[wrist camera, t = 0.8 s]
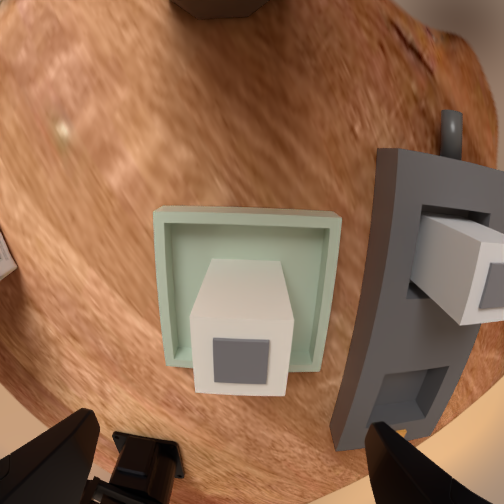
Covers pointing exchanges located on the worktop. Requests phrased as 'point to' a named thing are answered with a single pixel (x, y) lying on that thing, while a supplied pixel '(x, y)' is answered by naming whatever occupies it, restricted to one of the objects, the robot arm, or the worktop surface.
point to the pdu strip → (410, 294)
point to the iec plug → (242, 329)
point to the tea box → (5, 260)
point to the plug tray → (247, 248)
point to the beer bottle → (220, 7)
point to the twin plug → (460, 267)
